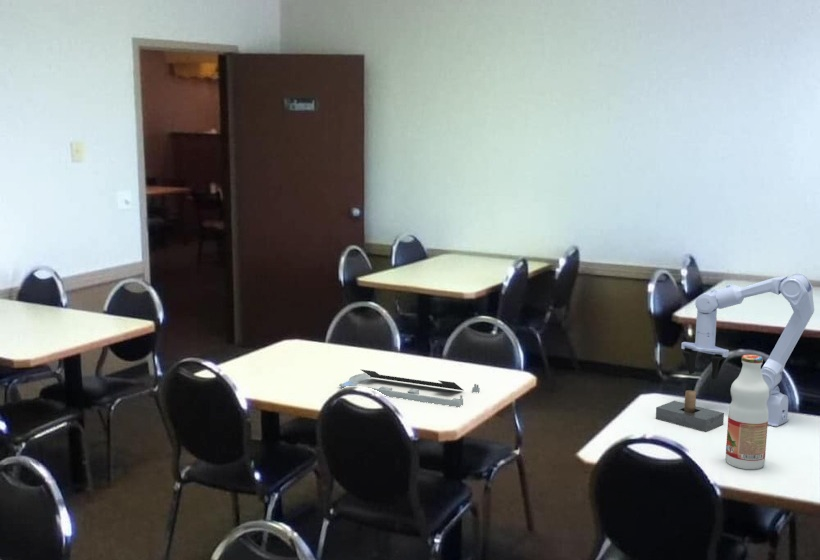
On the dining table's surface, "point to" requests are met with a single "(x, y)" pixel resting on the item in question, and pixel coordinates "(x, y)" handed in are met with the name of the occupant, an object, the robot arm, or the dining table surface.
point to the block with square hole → (690, 416)
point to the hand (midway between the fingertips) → (703, 375)
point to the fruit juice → (748, 416)
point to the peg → (690, 401)
